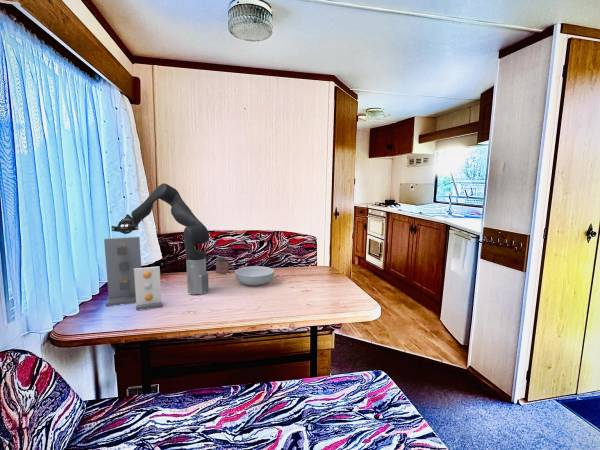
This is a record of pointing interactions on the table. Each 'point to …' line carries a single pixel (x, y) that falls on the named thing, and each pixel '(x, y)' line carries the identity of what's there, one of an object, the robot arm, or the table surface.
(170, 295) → the table surface
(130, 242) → the button panel
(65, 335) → the table surface
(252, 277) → the serving bowl
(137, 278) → the pattern card
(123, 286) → the button bottom
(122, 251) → the button top
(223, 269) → the lighter
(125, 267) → the button middle
